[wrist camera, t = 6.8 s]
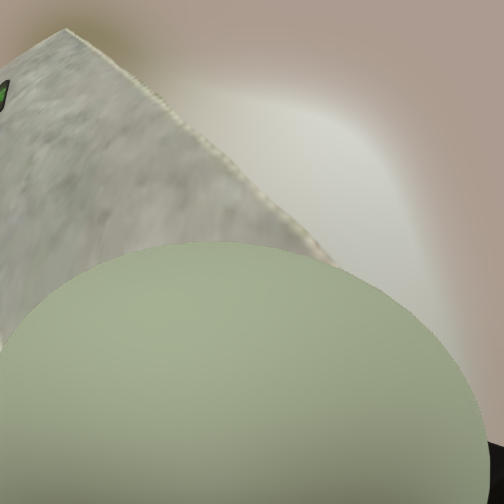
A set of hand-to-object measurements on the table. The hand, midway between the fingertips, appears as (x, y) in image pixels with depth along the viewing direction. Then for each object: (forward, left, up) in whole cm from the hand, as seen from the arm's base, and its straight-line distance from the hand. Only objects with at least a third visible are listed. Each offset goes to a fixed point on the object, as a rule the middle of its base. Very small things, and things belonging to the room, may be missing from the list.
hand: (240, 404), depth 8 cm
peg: (-1, 0, -7) cm, 7 cm away
